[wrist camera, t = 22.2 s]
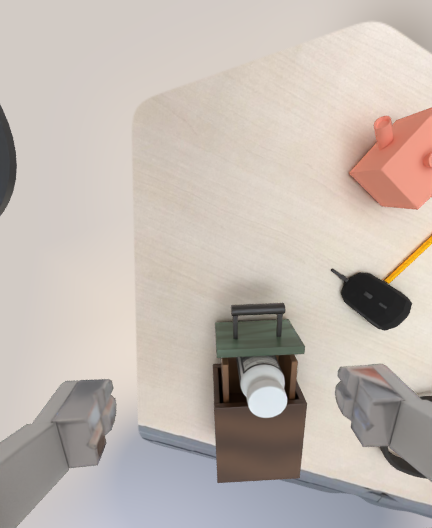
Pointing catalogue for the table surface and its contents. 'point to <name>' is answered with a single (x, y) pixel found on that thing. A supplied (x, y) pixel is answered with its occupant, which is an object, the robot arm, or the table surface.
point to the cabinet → (257, 439)
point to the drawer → (256, 346)
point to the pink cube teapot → (399, 162)
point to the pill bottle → (262, 384)
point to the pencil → (409, 260)
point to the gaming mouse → (375, 300)
